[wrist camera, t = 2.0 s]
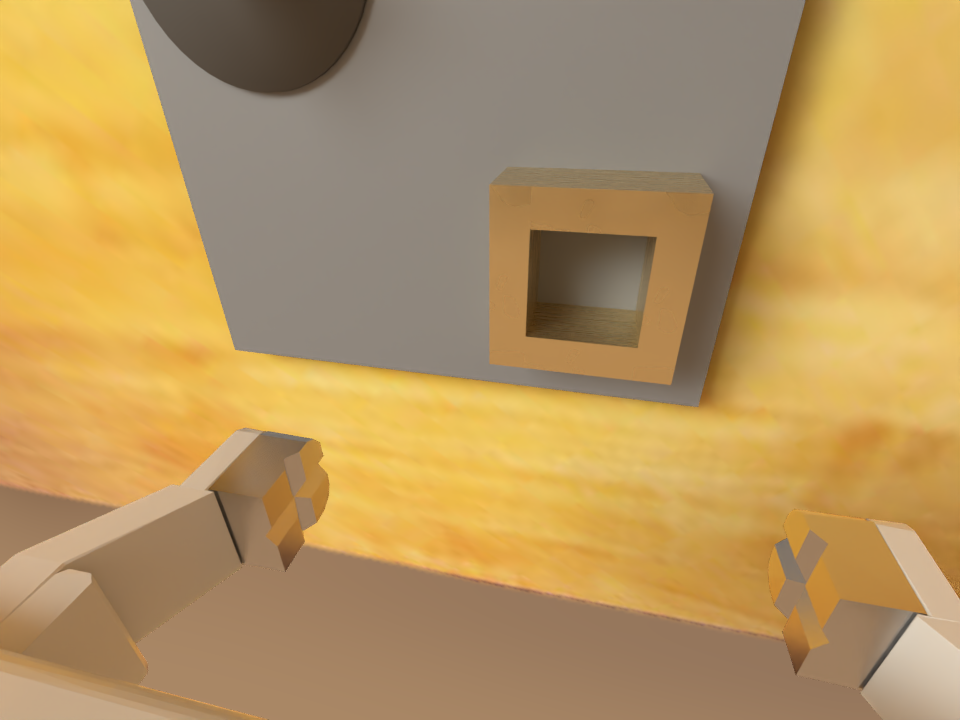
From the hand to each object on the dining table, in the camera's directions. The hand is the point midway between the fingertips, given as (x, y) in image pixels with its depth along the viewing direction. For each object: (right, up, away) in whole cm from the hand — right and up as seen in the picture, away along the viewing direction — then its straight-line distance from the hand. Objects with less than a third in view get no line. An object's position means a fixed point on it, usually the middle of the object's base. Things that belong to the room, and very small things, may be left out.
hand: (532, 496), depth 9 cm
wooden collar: (+3, +6, +10) cm, 12 cm away
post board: (-2, +12, +10) cm, 16 cm away
